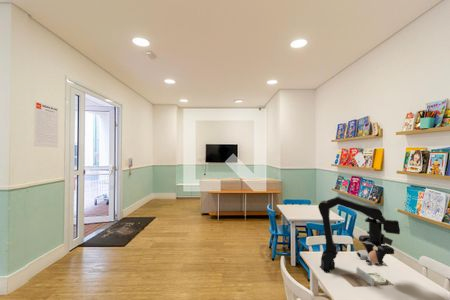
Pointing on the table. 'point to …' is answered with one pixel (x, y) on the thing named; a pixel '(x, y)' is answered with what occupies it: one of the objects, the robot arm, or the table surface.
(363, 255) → the robot toy
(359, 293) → the table surface
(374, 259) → the rubber ball
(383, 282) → the ring
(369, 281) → the fence board
